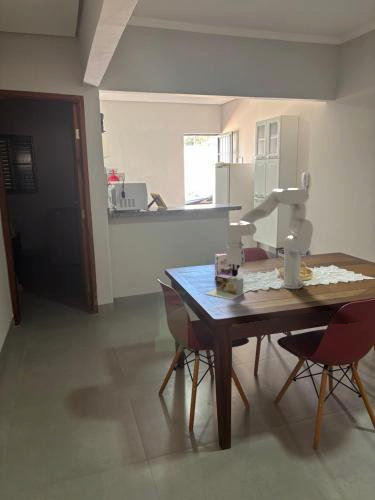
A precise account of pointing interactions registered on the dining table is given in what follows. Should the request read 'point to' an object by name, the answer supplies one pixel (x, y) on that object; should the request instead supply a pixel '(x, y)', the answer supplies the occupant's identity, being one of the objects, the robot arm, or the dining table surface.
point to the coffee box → (229, 284)
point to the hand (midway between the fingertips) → (234, 275)
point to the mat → (223, 294)
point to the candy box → (222, 265)
